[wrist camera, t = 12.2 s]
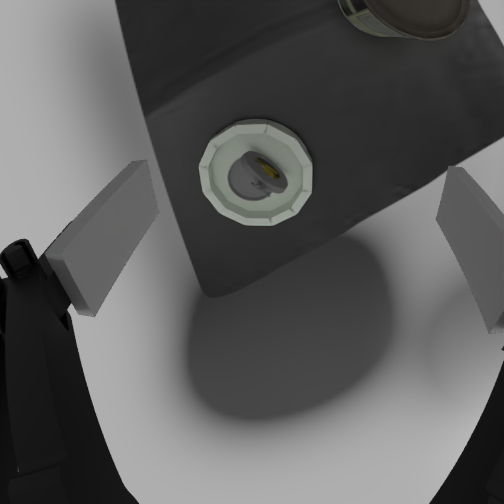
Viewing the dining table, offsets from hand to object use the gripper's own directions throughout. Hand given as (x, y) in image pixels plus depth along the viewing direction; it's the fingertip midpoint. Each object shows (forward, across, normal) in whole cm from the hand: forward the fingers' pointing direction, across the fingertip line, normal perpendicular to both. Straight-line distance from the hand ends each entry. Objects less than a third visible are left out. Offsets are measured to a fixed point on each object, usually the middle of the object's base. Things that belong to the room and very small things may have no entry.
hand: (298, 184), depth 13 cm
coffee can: (+29, +10, +12) cm, 33 cm away
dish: (+29, -6, -12) cm, 32 cm away
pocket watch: (+28, -6, -12) cm, 31 cm away
